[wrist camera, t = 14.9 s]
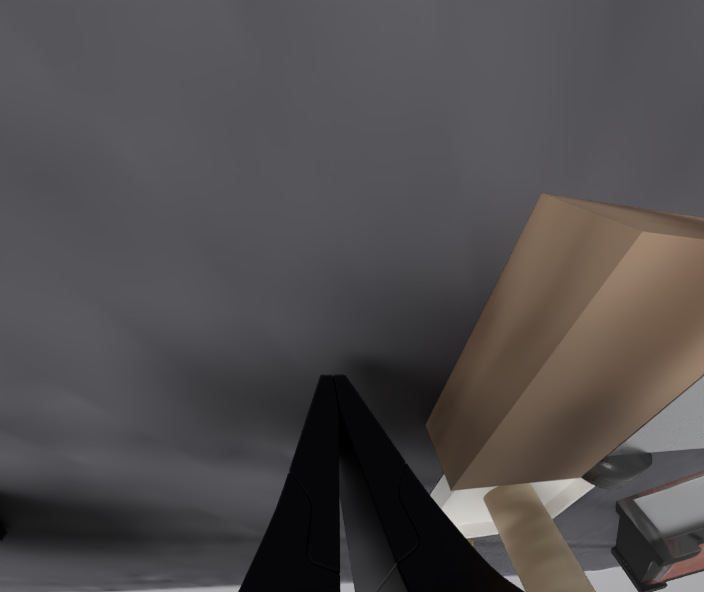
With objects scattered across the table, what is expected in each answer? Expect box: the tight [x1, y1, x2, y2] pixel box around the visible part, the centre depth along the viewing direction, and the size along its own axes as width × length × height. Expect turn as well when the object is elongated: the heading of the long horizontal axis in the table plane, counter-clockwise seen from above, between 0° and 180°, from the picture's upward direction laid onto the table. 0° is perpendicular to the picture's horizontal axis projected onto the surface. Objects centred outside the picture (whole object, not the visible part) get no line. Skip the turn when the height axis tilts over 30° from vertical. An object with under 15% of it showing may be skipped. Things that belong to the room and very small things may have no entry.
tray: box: [430, 475, 595, 538], centre depth 21 cm, size 12×12×1 cm
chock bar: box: [426, 193, 704, 491], centre depth 12 cm, size 7×12×4 cm, turn 170°
